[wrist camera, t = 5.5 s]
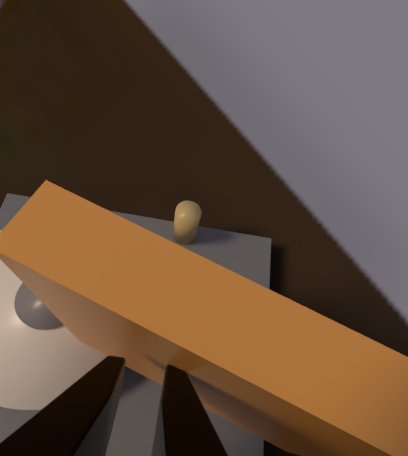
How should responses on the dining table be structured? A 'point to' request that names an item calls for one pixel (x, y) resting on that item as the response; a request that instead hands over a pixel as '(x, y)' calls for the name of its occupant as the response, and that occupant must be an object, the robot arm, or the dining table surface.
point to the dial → (185, 333)
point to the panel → (140, 385)
